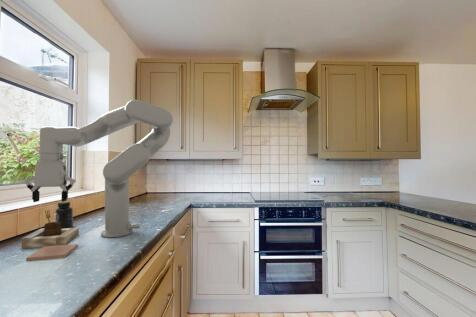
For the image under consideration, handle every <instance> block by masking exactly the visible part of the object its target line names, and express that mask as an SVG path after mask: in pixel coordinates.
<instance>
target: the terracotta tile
mask: <svg viewBox="0 0 476 317" xmlns="http://www.w3.org/2000/svg"><path fill="white" fill-rule="evenodd" d="M78 245H79V244H78V243H75V244H74V243H73V244H66V245H58V246H45V247H40V248H39V249H38V250H36V251H35V252H33V253H31V254H30V255H28V256H26V258H25V261H26V262H29V261H30V262H31V261H39V260H40V261H41V260H51V259H64V258H67V257H66V256H68V255H70V254H71V253H72V252H74V250H76V249H77V248H78V247H79V246H78Z"/></svg>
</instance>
